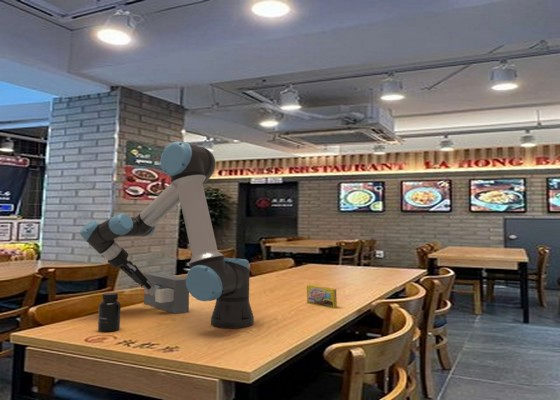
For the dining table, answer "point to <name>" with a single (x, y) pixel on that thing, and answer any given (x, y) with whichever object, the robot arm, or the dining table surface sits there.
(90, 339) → the dining table surface
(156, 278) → the console
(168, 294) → the cream button
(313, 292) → the candy box
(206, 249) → the robot arm
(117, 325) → the supplement bottle
